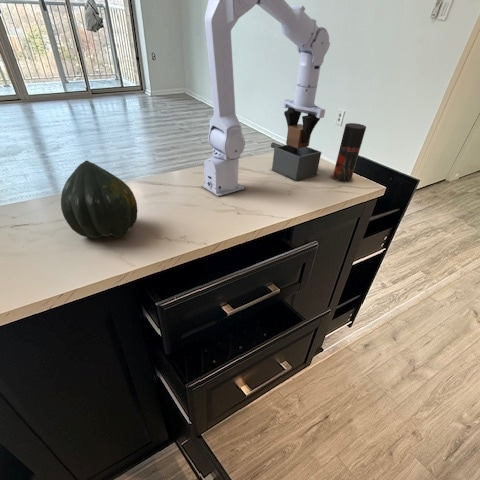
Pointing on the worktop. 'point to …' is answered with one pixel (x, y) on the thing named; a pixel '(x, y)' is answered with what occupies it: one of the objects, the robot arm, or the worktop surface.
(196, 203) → the worktop surface
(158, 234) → the worktop surface
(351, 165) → the deodorant
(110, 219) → the squash
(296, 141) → the block
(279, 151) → the basket
